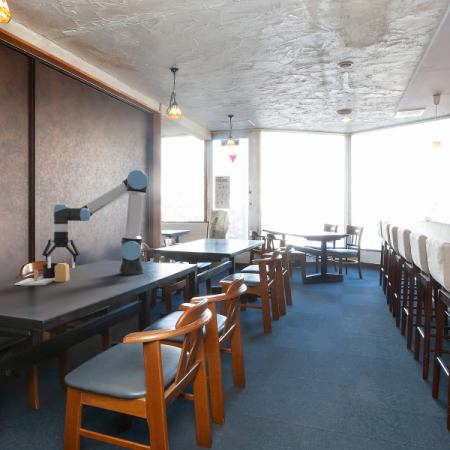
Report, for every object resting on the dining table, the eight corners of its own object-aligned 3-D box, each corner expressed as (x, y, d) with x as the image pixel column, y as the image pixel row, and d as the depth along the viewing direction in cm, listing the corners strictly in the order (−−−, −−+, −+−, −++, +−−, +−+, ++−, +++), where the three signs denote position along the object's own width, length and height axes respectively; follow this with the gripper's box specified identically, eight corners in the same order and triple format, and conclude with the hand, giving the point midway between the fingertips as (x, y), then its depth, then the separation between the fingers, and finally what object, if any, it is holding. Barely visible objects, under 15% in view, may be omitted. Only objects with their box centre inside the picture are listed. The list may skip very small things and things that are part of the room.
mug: (56, 281, 215) (56, 265, 215) (39, 280, 218) (38, 265, 217) (67, 278, 224) (66, 263, 224) (50, 277, 227) (49, 262, 227)
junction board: (58, 278, 222) (58, 266, 222) (45, 284, 202) (44, 272, 202) (30, 278, 221) (30, 267, 220) (14, 285, 201) (14, 272, 201)
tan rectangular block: (69, 279, 218) (69, 262, 218) (65, 281, 212) (65, 264, 212) (59, 279, 218) (58, 262, 217) (55, 281, 212) (54, 264, 211)
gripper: (85, 230, 218) (85, 266, 219) (41, 230, 216) (41, 266, 217) (81, 231, 211) (81, 268, 212) (35, 231, 209) (36, 268, 210)
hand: (61, 267), depth 214 cm, fingers open, 13 cm apart
